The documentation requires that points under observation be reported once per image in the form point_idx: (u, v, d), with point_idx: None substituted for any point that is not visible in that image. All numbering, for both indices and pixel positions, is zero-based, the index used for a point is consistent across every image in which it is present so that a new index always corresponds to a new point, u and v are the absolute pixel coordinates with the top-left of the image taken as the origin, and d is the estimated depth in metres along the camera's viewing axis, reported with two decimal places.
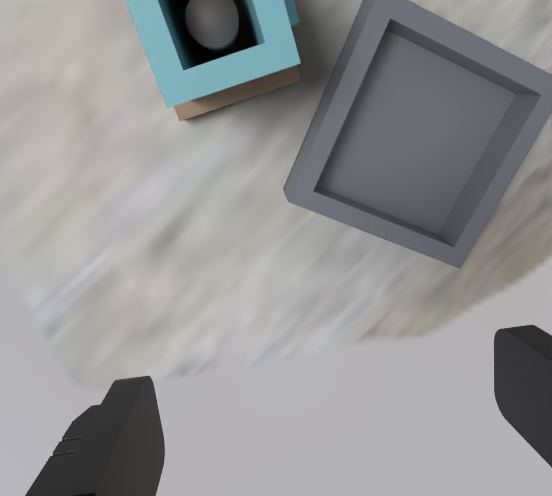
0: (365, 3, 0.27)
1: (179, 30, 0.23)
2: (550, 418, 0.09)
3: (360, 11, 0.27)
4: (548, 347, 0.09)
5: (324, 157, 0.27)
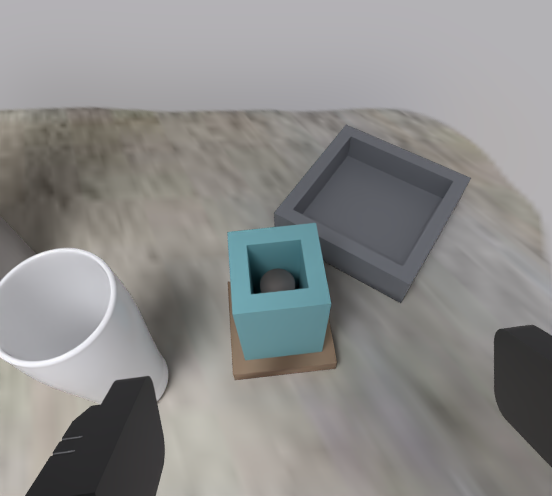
0: None
1: None
2: (550, 418, 0.09)
3: None
4: (548, 347, 0.09)
5: (377, 255, 0.37)
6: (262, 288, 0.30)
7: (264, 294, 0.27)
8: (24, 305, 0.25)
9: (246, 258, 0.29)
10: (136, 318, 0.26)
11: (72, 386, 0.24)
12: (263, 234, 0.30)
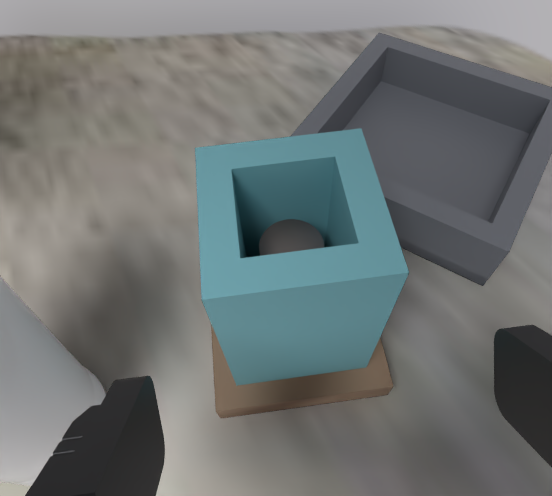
0: None
1: None
2: (550, 418, 0.09)
3: None
4: (548, 347, 0.09)
5: (448, 208, 0.23)
6: (263, 254, 0.16)
7: (268, 257, 0.13)
8: None
9: (231, 191, 0.15)
10: None
11: None
12: (263, 149, 0.16)
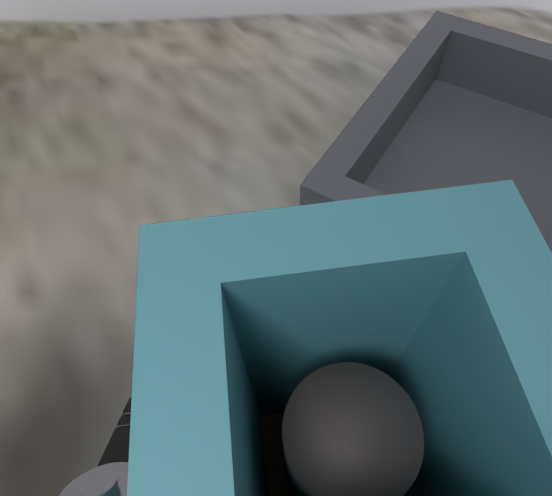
0: None
1: None
2: None
3: None
4: None
5: None
6: (292, 454, 0.07)
7: None
8: None
9: (219, 350, 0.06)
10: None
11: None
12: (296, 231, 0.07)
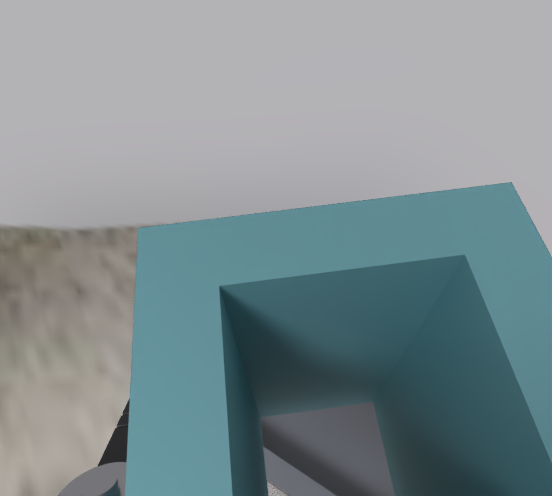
0: None
1: None
2: None
3: None
4: None
5: None
6: None
7: None
8: None
9: (217, 354, 0.06)
10: None
11: None
12: (294, 233, 0.07)
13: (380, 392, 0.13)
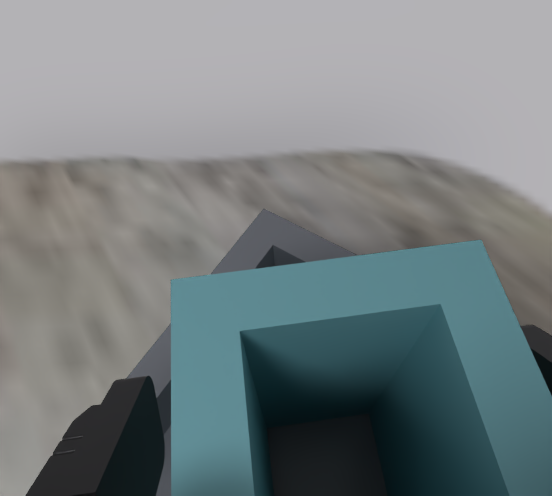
0: None
1: None
2: None
3: None
4: (548, 347, 0.09)
5: None
6: None
7: None
8: None
9: (240, 389, 0.07)
10: None
11: None
12: (300, 285, 0.08)
13: (375, 405, 0.14)
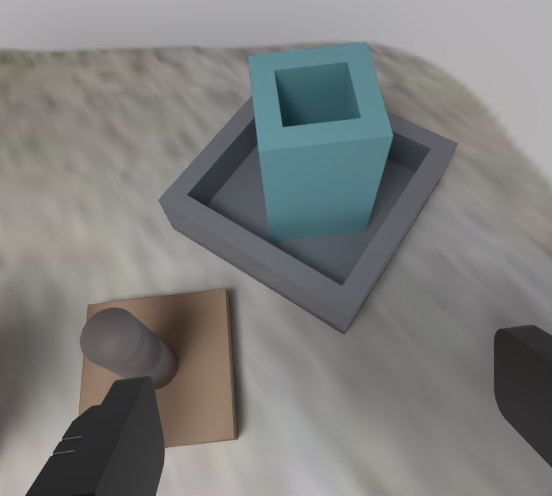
0: (175, 223, 0.28)
1: None
2: (550, 418, 0.09)
3: (181, 230, 0.29)
4: (548, 347, 0.09)
5: (304, 268, 0.24)
6: (83, 344, 0.18)
7: (301, 126, 0.20)
8: None
9: (274, 85, 0.21)
10: None
11: None
12: (296, 57, 0.22)
13: None
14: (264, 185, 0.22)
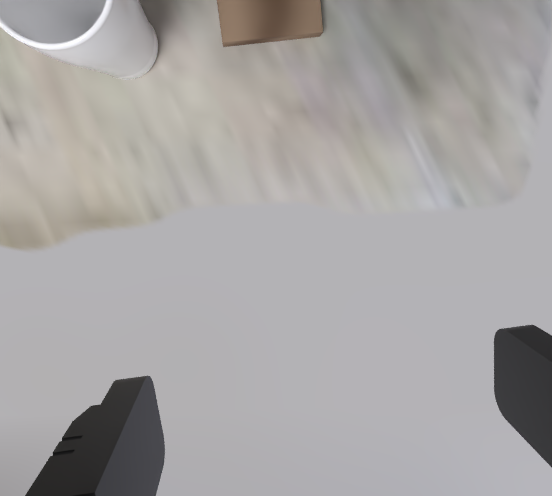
0: None
1: None
2: (550, 418, 0.09)
3: None
4: (548, 347, 0.09)
5: None
6: None
7: None
8: None
9: None
10: None
11: (86, 63, 0.26)
12: None
13: None
14: None
